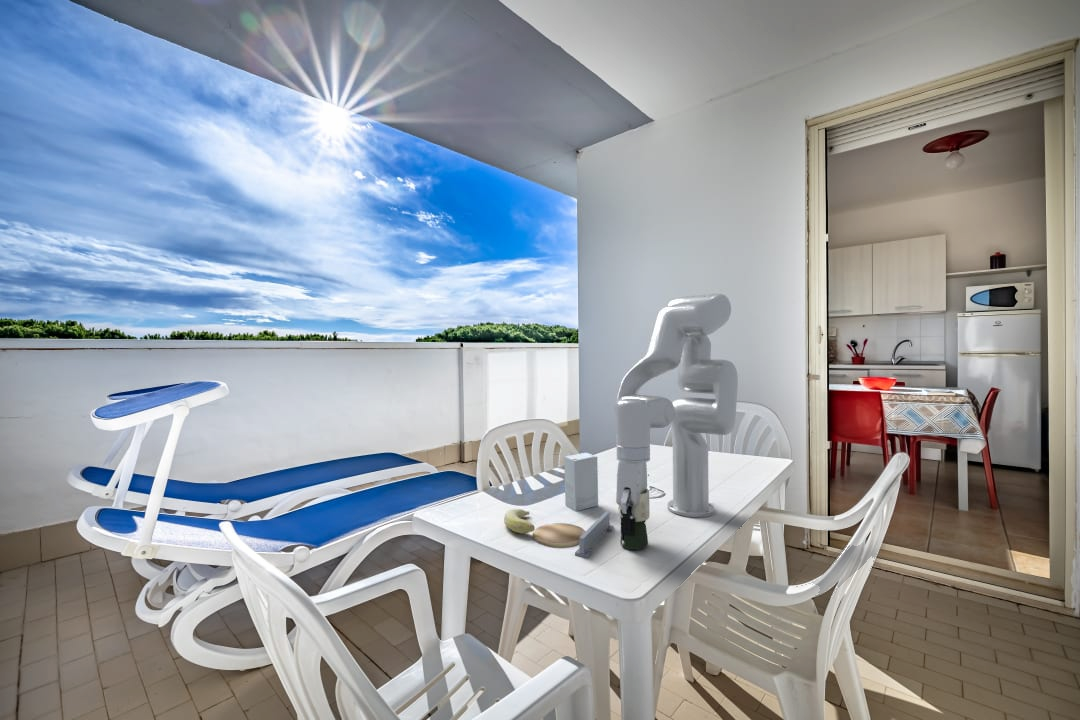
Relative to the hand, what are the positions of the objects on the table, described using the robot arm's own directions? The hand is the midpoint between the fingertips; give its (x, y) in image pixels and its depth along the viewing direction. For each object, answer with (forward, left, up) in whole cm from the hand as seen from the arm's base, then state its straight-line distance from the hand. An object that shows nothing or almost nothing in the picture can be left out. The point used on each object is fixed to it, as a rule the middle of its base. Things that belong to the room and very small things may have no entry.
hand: (633, 527), depth 104 cm
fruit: (+1, -29, -4) cm, 29 cm away
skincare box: (-20, -21, -5) cm, 29 cm away
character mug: (0, 0, -5) cm, 5 cm away
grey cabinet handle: (+1, -9, -4) cm, 10 cm away
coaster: (+2, -18, -4) cm, 19 cm away
